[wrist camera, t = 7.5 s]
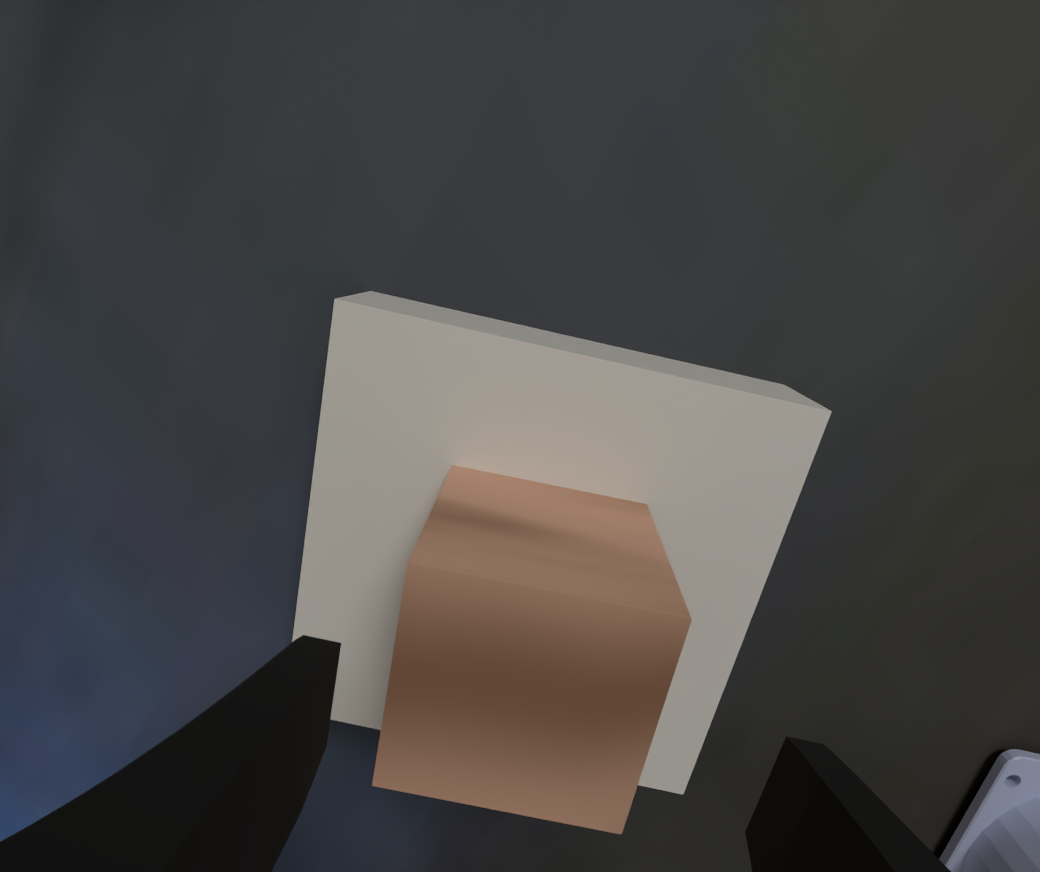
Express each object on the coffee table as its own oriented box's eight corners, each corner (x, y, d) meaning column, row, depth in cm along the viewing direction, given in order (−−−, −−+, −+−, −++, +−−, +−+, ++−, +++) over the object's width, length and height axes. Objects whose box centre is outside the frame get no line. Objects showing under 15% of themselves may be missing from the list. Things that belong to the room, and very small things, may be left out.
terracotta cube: (600, 667, 17) (620, 834, 12) (423, 632, 17) (371, 785, 12) (647, 503, 15) (692, 620, 10) (452, 465, 15) (407, 563, 10)
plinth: (664, 719, 21) (683, 794, 18) (321, 645, 20) (283, 709, 18) (784, 385, 17) (831, 411, 14) (371, 291, 17) (334, 298, 14)
